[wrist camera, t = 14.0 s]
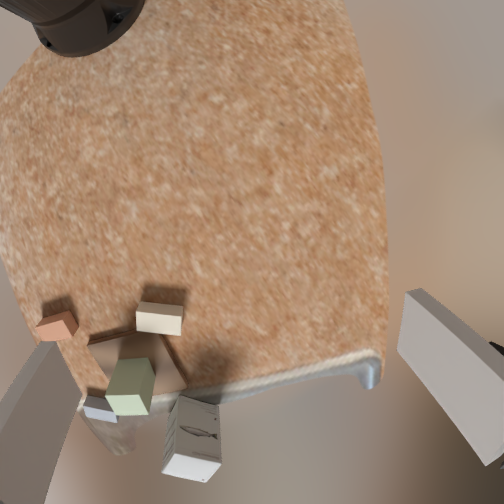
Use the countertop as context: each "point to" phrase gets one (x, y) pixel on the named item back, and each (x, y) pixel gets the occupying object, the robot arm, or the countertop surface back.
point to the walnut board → (140, 347)
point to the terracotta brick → (57, 327)
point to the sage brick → (131, 387)
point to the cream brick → (159, 318)
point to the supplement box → (192, 440)
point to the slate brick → (99, 409)
